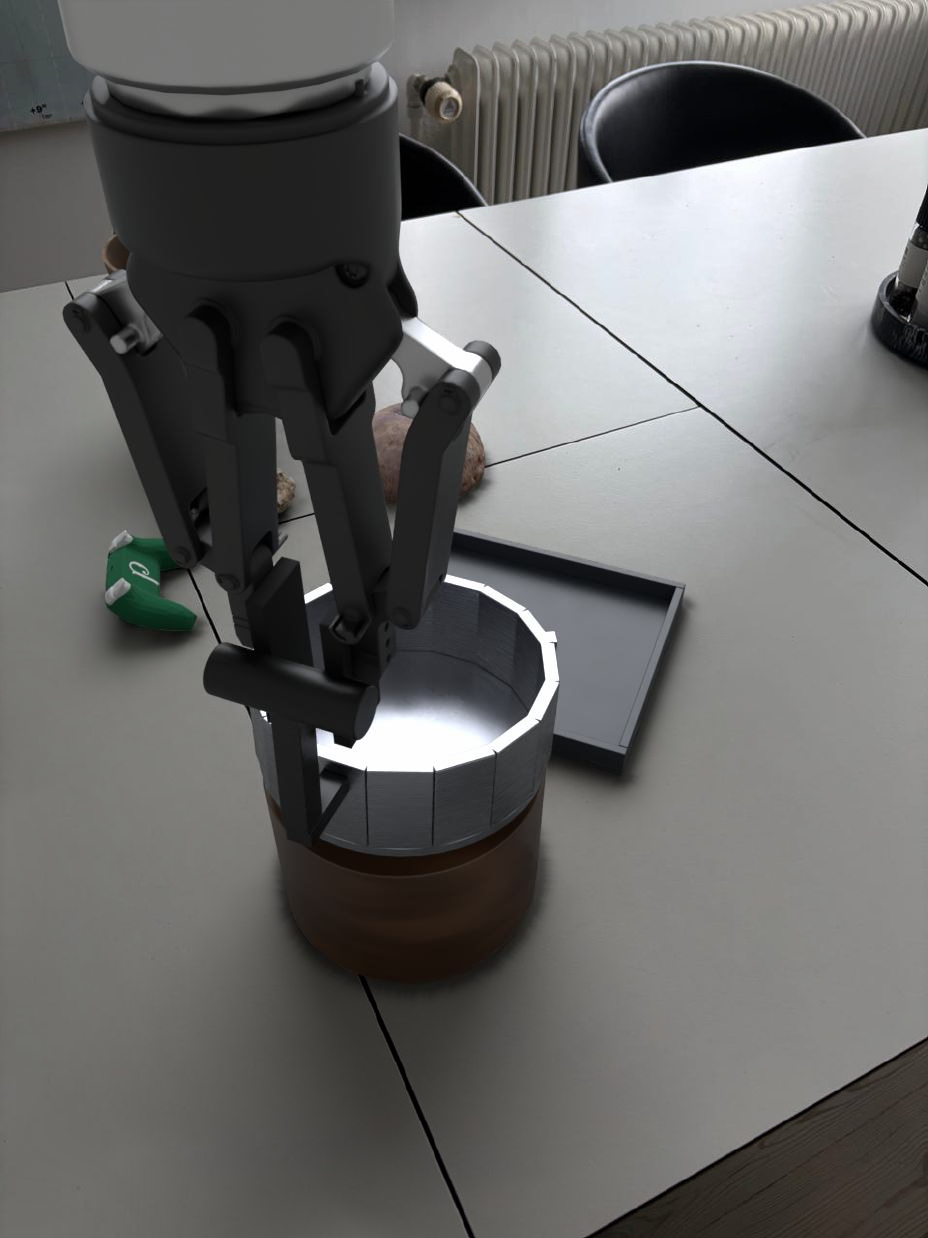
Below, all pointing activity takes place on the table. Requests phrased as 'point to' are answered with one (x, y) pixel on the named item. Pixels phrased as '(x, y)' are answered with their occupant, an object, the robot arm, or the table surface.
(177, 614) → the gaming controller
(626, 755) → the tray
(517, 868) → the stand
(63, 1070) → the table surface
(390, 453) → the decorative stone
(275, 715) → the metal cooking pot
